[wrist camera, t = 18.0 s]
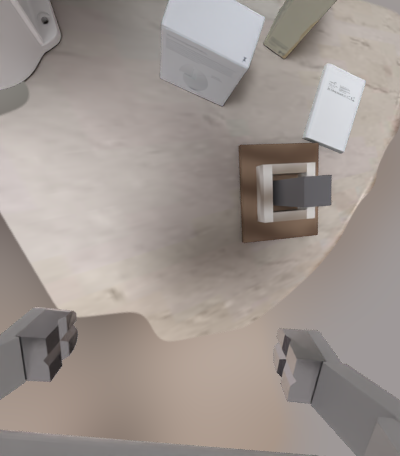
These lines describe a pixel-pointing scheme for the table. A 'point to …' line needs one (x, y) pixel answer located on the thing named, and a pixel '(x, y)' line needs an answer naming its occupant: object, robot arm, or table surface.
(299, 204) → the plug
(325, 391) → the robot arm
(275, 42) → the skincare box
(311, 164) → the socket board
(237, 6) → the skincare box
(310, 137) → the external hard drive
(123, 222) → the table surface
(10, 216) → the table surface
